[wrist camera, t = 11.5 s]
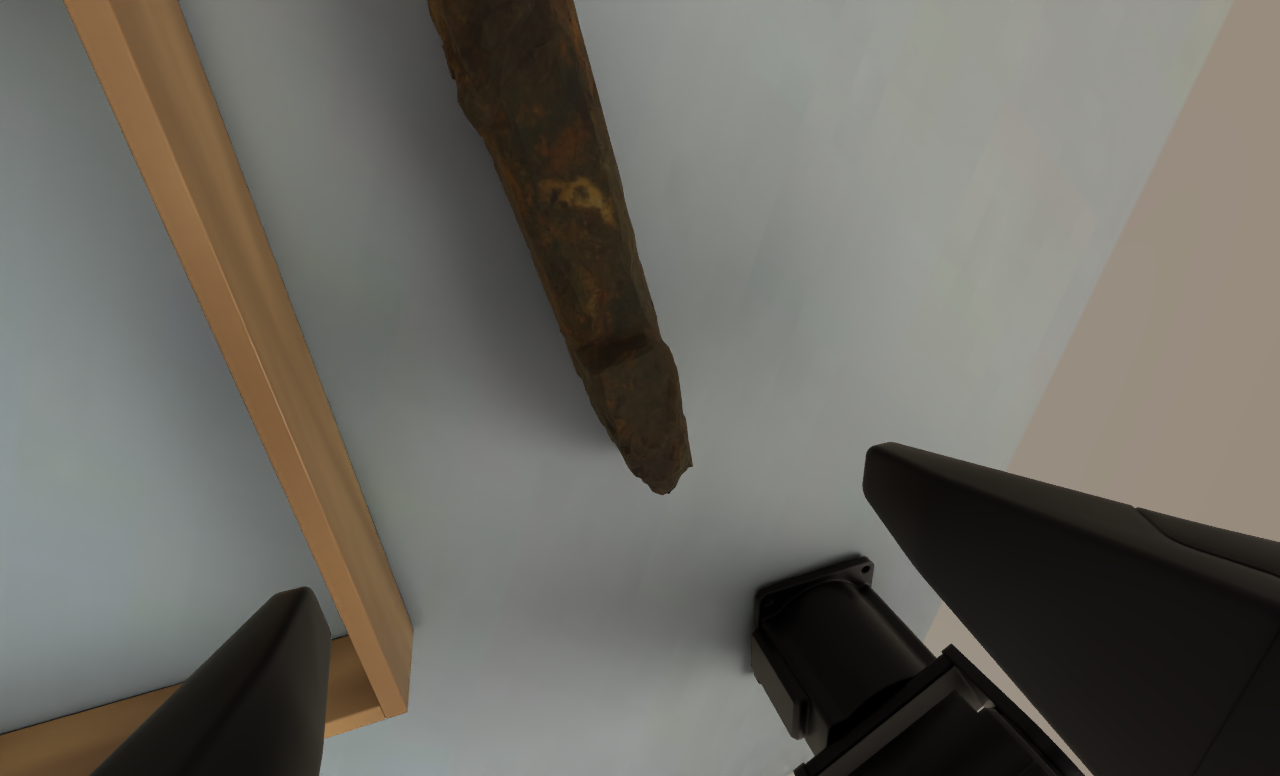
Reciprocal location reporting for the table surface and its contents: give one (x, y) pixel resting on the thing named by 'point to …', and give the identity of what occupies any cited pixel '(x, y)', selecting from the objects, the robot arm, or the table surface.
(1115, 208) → the table surface
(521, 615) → the table surface
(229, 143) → the wooden rectangular frame
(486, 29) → the dark brown long piece
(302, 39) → the table surface
